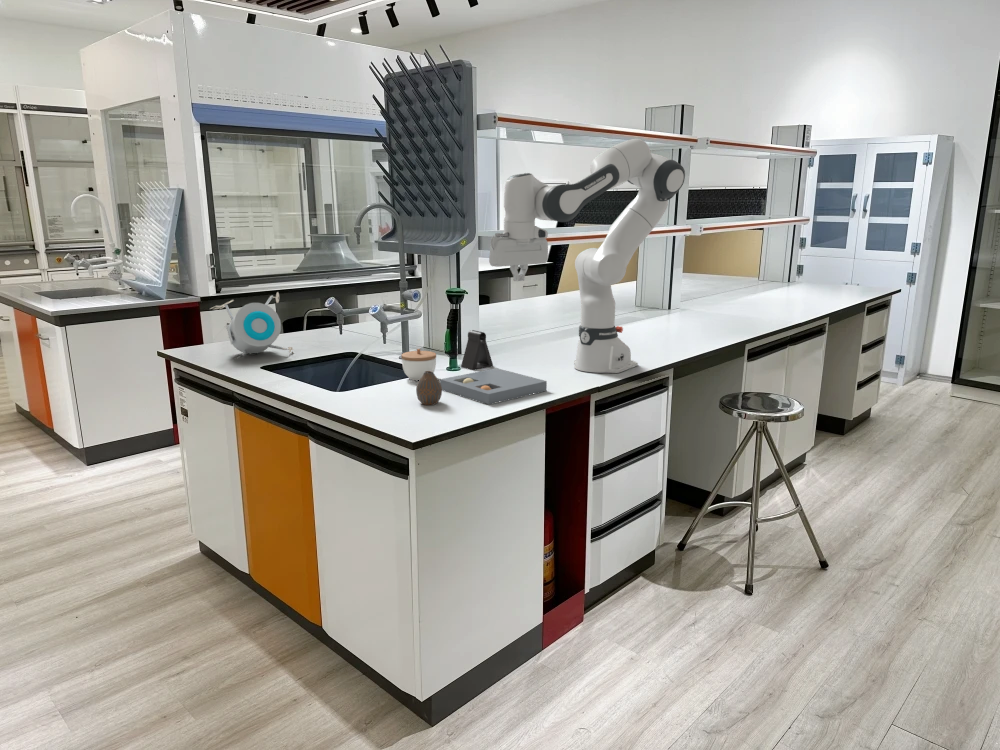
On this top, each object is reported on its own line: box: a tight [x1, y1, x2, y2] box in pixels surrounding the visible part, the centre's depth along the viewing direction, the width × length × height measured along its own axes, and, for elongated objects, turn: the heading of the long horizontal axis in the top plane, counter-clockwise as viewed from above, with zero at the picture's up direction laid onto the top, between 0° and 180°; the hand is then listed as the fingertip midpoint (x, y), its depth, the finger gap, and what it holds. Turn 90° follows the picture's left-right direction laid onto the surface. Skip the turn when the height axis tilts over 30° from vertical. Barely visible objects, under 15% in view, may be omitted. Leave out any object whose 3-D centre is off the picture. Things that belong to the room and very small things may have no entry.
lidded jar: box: [400, 348, 437, 381], centre depth 215 cm, size 11×11×9 cm
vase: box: [416, 371, 443, 406], centre depth 188 cm, size 7×7×9 cm
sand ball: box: [463, 378, 474, 384], centre depth 202 cm, size 4×4×4 cm
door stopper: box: [460, 329, 494, 371], centre depth 231 cm, size 9×6×12 cm, turn 131°
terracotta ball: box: [481, 385, 491, 390], centre depth 194 cm, size 4×4×4 cm
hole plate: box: [439, 367, 548, 405], centre depth 202 cm, size 22×22×3 cm
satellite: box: [209, 291, 294, 359], centre depth 249 cm, size 23×20×25 cm
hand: (518, 280), depth 201 cm, fingers closed
